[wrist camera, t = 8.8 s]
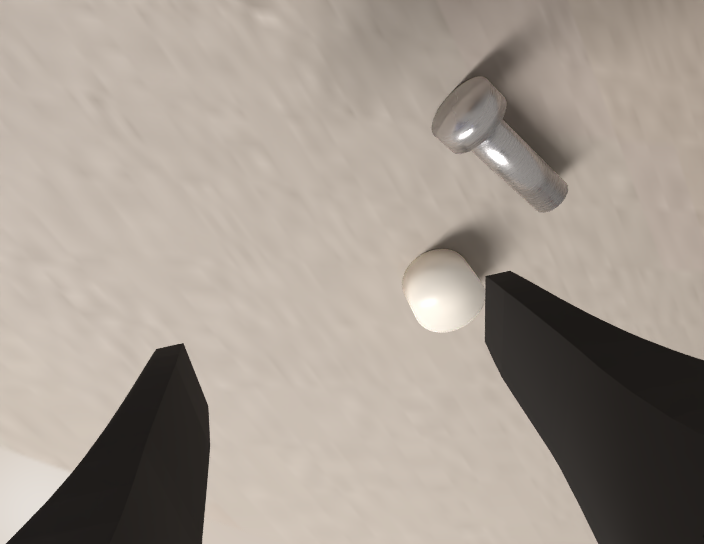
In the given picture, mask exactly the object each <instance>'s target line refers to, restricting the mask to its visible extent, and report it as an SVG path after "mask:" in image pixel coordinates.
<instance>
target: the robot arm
mask: <svg viewBox="0 0 704 544" xmlns="http://www.w3.org/2000/svg"><path fill="white" fill-rule="evenodd" d="M485 343H486V345H487V347H488V349H489V351H490V354H491V356H492V358H493V360H494V362H495V364H496V366H497V368H498V370H499V372H500V374H501V376H502V378H503V380H504V381H505V383H506V384H507V386H508V387H509V389H510V391H511V392H512V394H513V395H514V397H515V398H516V400H517V401H518V403H519V404H520V406H521V407H522V409H523V411H524V412H525V414H526V415H527V417H528V418H529V420H530V421H531V423H532V424H533V426H534V427H535V429H536V430H537V432H538V433H539V435H540V436H541V438H542V439H543V441H544V442H545V444H546V445H547V447H548V449H549V450H550V452H551V453H552V455H553V457H554V458H555V460H556V462H557V463H558V465H559V467H560V469H561V470H562V472H563V474H564V476H565V478H566V480H567V482H568V484H569V486H570V488H571V490H572V492H573V494H574V496H575V498H576V499H577V501H578V503H579V505H580V507H581V509H582V511H583V513H584V515H585V517H586V520H587V522H588V524H589V526H590V528H591V530H592V532H593V534H594V536H595V538H596V540H597V542H598V544H704V360H701V359H698V358H694V357H691V356H688V355H685V354H683V353H680V352H677V351H674V350H671V349H669V348H666V347H663V346H661V345H658V344H656V343H653V342H650V341H648V340H645V339H643V338H640V337H638V336H636V335H633V334H631V333H629V332H626V331H624V330H622V329H620V328H618V327H615V326H613V325H611V324H609V323H607V322H605V321H603V320H601V319H599V318H597V317H595V316H593V315H591V314H589V313H587V312H585V311H583V310H581V309H579V308H577V307H575V306H573V305H571V304H569V303H568V302H566V301H564V300H562V299H560V298H558V297H557V296H555V295H553V294H551V293H549V292H548V291H546V290H544V289H542V288H541V287H539V286H537V285H535V284H533V283H532V282H530V281H528V280H526V279H524V278H523V277H521V276H519V275H517V274H515V273H513V272H511V271H507V272H502V273H498V274H493V275H489V276H486V288H485ZM209 453H210V432H209V412H208V404H207V402H206V399H205V397H204V394H203V392H202V389H201V387H200V384H199V382H198V379H197V377H196V374H195V371H194V369H193V366H192V364H191V361H190V359H189V356H188V354H187V351H186V349H185V346H184V344H183V343H182V344H177V345H173V346H168V347H164V348H159V349H156V351H155V352H154V353H153V355H152V356H151V358H150V360H149V361H148V363H147V364H146V366H145V368H144V369H143V371H142V373H141V374H140V376H139V377H138V379H137V381H136V382H135V384H134V385H133V387H132V389H131V390H130V392H129V393H128V395H127V397H126V398H125V400H124V401H123V403H122V404H121V406H120V407H119V409H118V410H117V412H116V413H115V415H114V416H113V418H112V419H111V421H110V422H109V424H108V425H107V427H106V428H105V430H104V431H103V432H102V434H101V435H100V436H99V438H98V439H97V441H96V442H95V443H94V445H93V446H92V447H91V449H90V450H89V451H88V453H87V454H86V456H85V457H84V458H83V460H82V461H81V462H80V463H79V465H78V466H77V467H76V468H75V470H74V471H73V472H72V473H71V474H70V476H69V477H68V478H67V479H66V480H65V481H64V483H63V484H62V485H61V486H60V487H59V489H57V491H56V492H55V493H54V494H53V495H52V496H51V498H50V499H49V500H48V501H47V502H46V503H45V504H44V505H43V506H42V507H41V508H40V509H39V510H38V511H37V512H36V514H34V515H33V516H32V517H31V519H30V520H29V521H28V522H27V523H26V524H25V525H24V526H23V527H22V528H21V529H20V530H19V531H18V532H17V533H16V534H15V535H14V536H13V537H12V538H11V539H10V540H9V541H8V542H7V543H6V544H202V535H203V523H204V512H205V501H206V490H207V478H208V466H209Z"/></svg>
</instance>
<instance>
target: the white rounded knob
mask: <svg viewBox="0 0 704 544" xmlns="http://www.w3.org/2000/svg"><path fill="white" fill-rule="evenodd" d="M402 289H403V292H404V295H405V297H406V299H407V301H408V303H409V305H410V307H411V309H412V311H413V313H414V315H415V317H416V319H417V321H418V322H419V323H420V325H421V326H423V327H424V328H426V329H428V330H430V331H434V332H450V331H454V330H457V329H459V328H462V327H463V326H465V325H467V324H468V323H470V322H471V321H472V320H473V319H474V318H475V317H476V316H477V315H478V313H479V312H480V310H481V309H482V307H483V304H484V301H485V289H484V286H483V284H482V282H481V281H480V279H479V278H478V277H477V275H476V274H475V272H474V271H473V270H472V268H471V267H470V266H469V264H468V263H467V262H466V260H465V259H464V258H463V257H462V256H461V255H460V254H459V253H457V252H455V251H453V250H449V249H436V250H431V251H428V252H426V253H424V254H422V255H420V256H419V257H417V258H416V259H415V260H414V261H413V262H412V263H411V264H410V265H409V266H408V268H407V269H406V271H405V273H404V276H403V280H402Z"/></svg>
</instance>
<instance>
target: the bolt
mask: <svg viewBox="0 0 704 544" xmlns="http://www.w3.org/2000/svg"><path fill="white" fill-rule="evenodd" d="M506 107H507V103H506V99H505V97H504V96H503V95H502V94H501V93H500V92H499V91H498V90H497V89H496V88H495V87H494V86H493V85H492V84H491V83H490V82H489V81H488V80H487V79H486V78H485V77H482V76H479V77H474V78H472V79H470V80H468V81H466V82H464V83H463V84H461V85H460V86H459V87H457V88H456V89H455V90H454V91H453V92H452V93H451V94H450V95H449V96H448V97H447V98H446V99H445V101H444V102H443V103H442V105H441V106H440V108H439V109H438V111H437V113H436V115H435V117H434V119H433V123H432V133H433V135H434V136H435V137H436V138H438V139H439V140H440V141H441V142H442V143H443V144H444V145H445V146H447V147H448V148H449V149H450V150H451V151H452V152H454V153H456V154H462V153H466V152H469V151H472V152H473V153H475V154H476V155H477V156H478V157H479V158H480V159H481V160H482V161H483V162H484V163H485V164H487V165H488V166H489V167H490V168H491V169H492V170H493V171H494V172H495V173H496V174H497V175H498V176H500V177H501V178H502V179H503V180H504V181H505V182H506V183H507V184H508V185H509V186H510V187H512V188H513V189H514V190H515V191H516V192H517V193H518V194H519V195H520V196H521V197H522V198H523V199H525V200H526V201H527V202H528V203H529V204H530V205H531V206H532V207H533V208H534V209H535V210H537V211H538V212H548V211H551V210H553V209H555V208H556V207H557V206H559V205H560V204H561V203H562V201H563V200H564V199H565V197H566V195H567V192H568V185H567V183H566V182H565V181H564V180H563V179H562V178H561V177H560V176H559V175H558V174H557V173H556V172H555V171H554V170H553V169H552V168H551V167H550V166H549V165H548V164H547V163H546V162H545V161H544V160H543V159H542V158H541V157H540V156H539V155H538V154H537V153H536V152H535V151H534V150H533V149H532V148H531V147H530V146H529V145H528V144H527V143H526V142H525V141H524V140H523V139H522V138H521V137H520V136H519V135H518V134H517V133H516V132H515V131H514V130H513V129H512V128H511V127H510V126H509V125H508V124H507V123H506V122H505V121H504V120H503V117H504V114H505V111H506Z"/></svg>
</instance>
